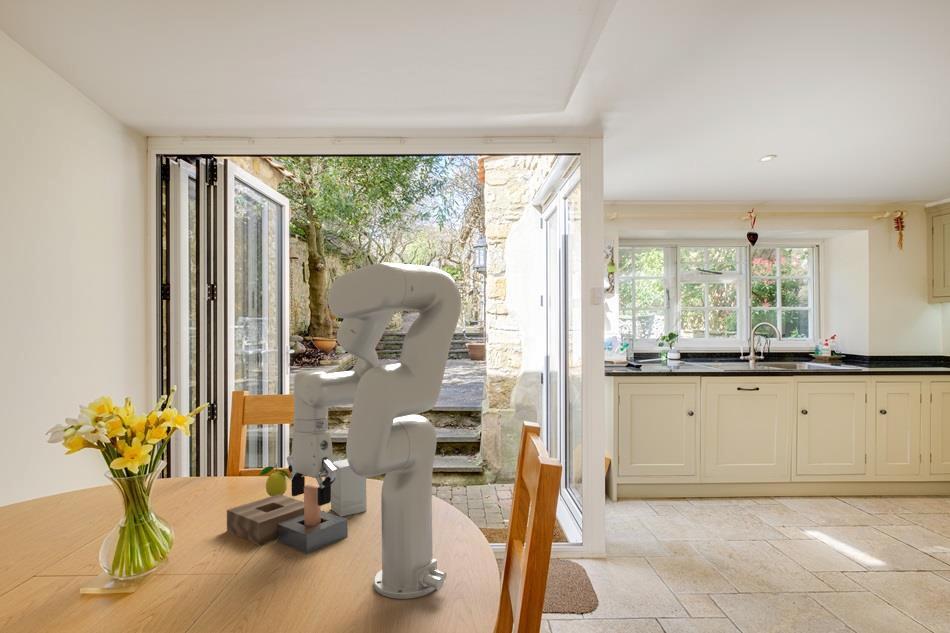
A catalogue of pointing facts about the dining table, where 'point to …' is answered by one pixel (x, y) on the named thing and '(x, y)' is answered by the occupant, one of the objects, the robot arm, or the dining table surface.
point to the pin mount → (312, 532)
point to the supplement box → (348, 490)
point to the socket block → (262, 517)
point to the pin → (311, 506)
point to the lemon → (275, 481)
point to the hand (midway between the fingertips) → (310, 499)
